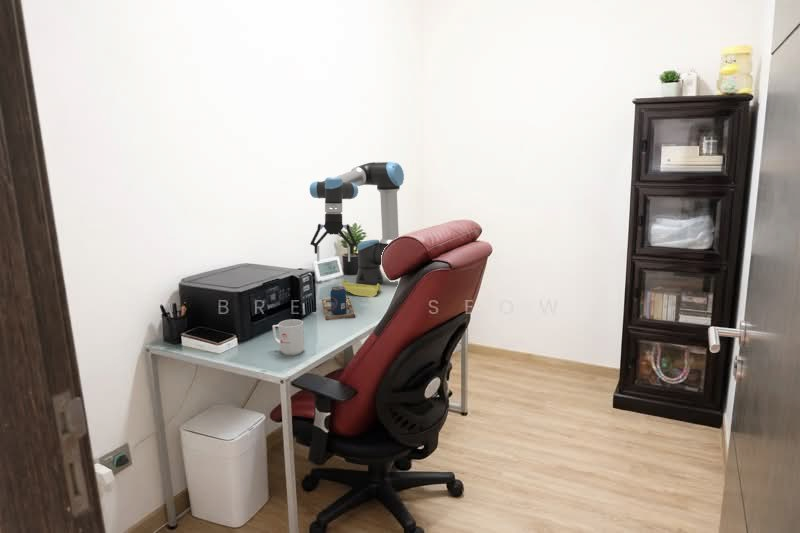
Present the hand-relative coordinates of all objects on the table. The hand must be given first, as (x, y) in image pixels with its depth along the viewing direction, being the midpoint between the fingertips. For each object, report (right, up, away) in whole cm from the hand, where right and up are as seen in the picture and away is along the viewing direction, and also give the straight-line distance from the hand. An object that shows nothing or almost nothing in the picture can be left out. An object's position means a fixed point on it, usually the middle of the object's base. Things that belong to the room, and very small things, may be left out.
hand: (333, 261), depth 244 cm
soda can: (+2, -24, +4) cm, 24 cm away
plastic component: (+10, -16, +37) cm, 41 cm away
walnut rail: (+1, -22, +10) cm, 24 cm away
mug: (-12, -34, -40) cm, 54 cm away
